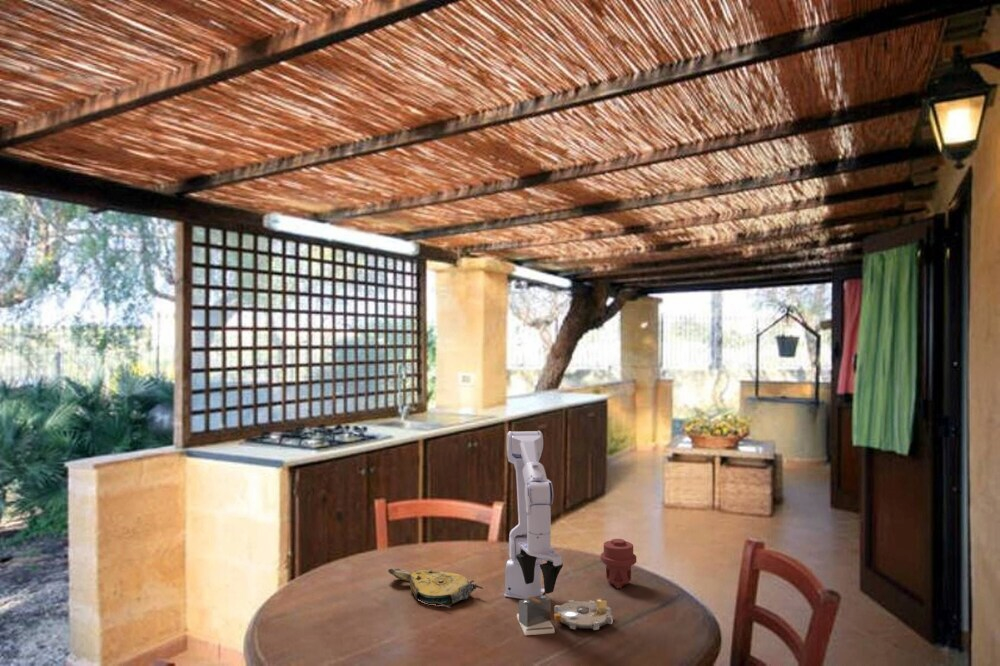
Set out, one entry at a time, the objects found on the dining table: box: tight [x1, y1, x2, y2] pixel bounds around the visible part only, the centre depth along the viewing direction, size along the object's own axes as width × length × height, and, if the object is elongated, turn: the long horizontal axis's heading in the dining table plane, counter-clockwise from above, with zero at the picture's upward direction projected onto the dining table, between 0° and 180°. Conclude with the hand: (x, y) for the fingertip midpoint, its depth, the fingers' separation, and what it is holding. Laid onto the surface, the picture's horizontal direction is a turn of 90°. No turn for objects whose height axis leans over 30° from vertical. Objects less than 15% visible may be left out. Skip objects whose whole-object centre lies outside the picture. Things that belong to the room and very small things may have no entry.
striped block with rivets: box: [518, 594, 552, 627], centre depth 152 cm, size 7×4×5 cm, turn 123°
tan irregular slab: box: [388, 568, 484, 609], centre depth 173 cm, size 14×6×30 cm
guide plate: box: [516, 612, 556, 636], centre depth 152 cm, size 10×7×1 cm
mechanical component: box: [600, 538, 637, 589], centre depth 179 cm, size 12×10×10 cm
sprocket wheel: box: [553, 597, 614, 631], centre depth 154 cm, size 15×15×4 cm
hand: (539, 587), depth 153 cm, fingers open, 7 cm apart
